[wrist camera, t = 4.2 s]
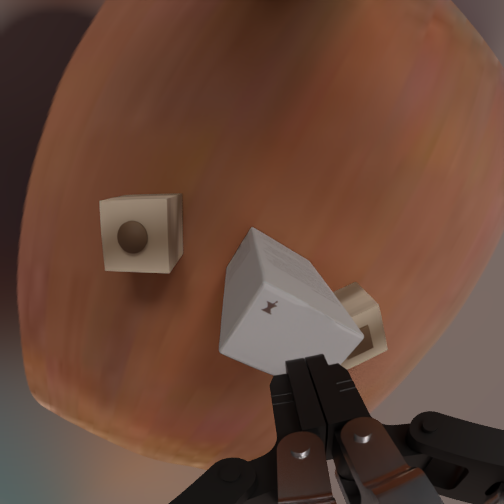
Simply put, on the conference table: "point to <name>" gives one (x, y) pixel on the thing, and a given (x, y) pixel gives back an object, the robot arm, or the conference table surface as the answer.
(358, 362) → the marked block
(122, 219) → the marked block
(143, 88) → the conference table surface
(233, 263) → the skincare box
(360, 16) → the conference table surface
